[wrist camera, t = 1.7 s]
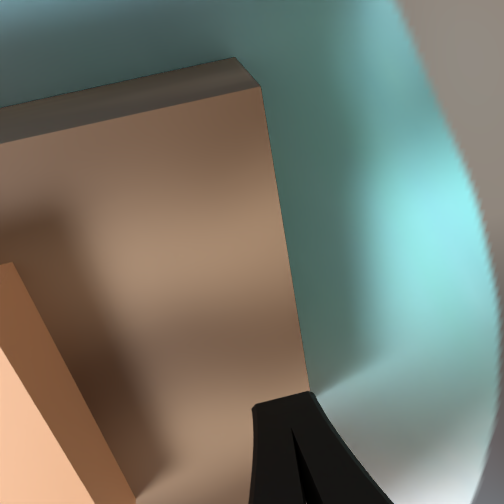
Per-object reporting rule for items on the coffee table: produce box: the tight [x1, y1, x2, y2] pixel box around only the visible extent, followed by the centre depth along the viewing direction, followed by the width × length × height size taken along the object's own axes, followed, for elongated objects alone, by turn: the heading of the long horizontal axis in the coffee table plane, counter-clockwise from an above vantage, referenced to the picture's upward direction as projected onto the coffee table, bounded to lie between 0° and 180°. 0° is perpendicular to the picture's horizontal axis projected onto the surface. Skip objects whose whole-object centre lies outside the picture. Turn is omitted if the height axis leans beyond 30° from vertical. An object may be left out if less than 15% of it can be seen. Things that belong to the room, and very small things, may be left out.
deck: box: [0, 57, 310, 504], centre depth 14 cm, size 14×16×4 cm
